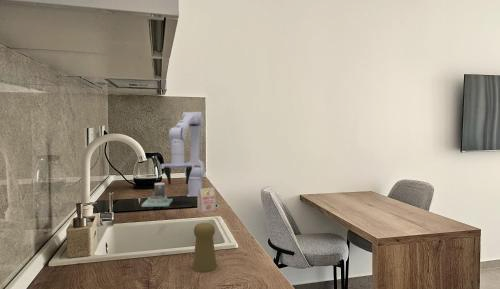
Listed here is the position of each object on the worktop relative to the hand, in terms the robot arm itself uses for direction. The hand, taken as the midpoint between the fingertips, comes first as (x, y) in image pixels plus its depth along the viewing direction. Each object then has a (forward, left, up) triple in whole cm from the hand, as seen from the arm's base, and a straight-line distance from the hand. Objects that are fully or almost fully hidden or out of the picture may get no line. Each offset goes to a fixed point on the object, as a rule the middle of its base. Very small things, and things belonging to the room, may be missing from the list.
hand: (178, 184), depth 155 cm
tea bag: (+11, +13, -10) cm, 20 cm away
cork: (+71, +16, -10) cm, 73 cm away
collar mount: (-7, -11, -10) cm, 17 cm away
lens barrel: (-18, -12, -10) cm, 24 cm away
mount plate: (-7, -11, -10) cm, 17 cm away
